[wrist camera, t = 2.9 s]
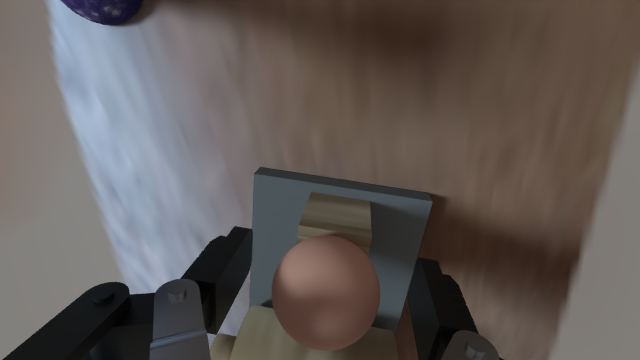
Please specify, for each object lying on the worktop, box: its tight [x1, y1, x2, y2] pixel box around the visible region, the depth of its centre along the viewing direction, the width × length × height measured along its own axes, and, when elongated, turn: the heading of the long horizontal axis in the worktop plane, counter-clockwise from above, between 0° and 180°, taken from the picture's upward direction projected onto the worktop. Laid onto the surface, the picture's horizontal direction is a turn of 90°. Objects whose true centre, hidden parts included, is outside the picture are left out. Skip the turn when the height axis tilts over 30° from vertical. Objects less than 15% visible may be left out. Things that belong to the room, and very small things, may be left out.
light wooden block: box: [297, 192, 372, 256], centre depth 15 cm, size 3×3×4 cm
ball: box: [272, 235, 380, 351], centre depth 12 cm, size 4×4×4 cm
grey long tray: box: [249, 167, 433, 335], centre depth 20 cm, size 23×9×3 cm, turn 173°
